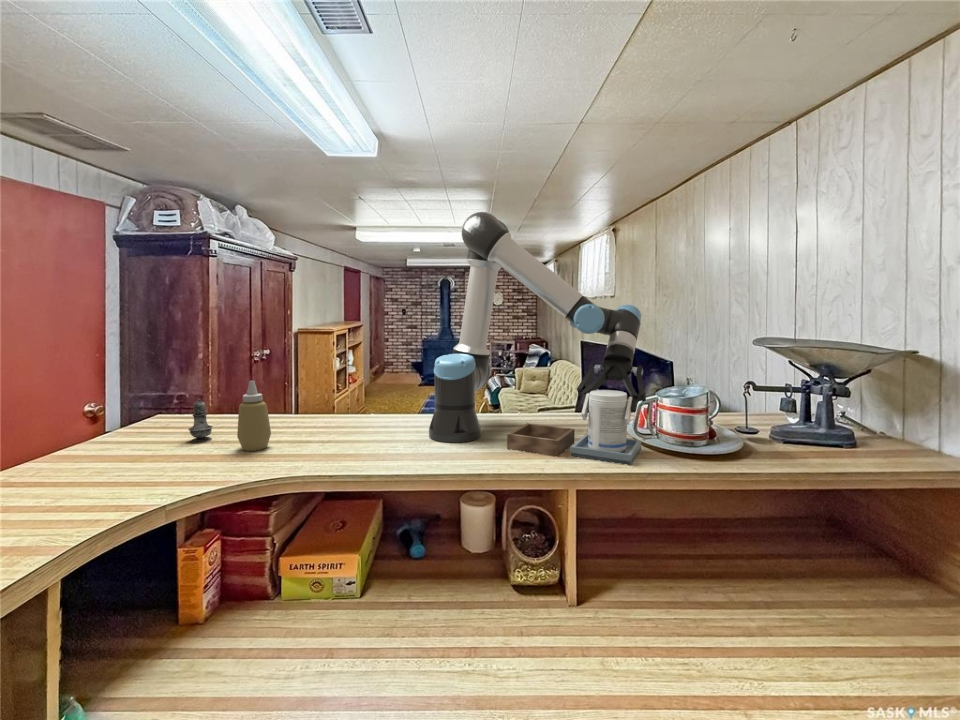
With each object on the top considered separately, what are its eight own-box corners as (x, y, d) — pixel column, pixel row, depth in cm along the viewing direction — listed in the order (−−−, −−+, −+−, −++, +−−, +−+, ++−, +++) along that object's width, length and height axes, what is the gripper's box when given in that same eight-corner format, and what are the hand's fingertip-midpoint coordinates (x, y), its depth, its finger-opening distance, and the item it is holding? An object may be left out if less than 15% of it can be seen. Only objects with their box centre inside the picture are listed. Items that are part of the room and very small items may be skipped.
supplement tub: (633, 449, 122) (635, 393, 120) (613, 457, 115) (616, 397, 114) (600, 441, 129) (602, 388, 127) (579, 448, 122) (581, 392, 121)
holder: (507, 449, 125) (507, 434, 125) (527, 436, 138) (527, 423, 137) (557, 456, 119) (558, 441, 118) (574, 443, 131) (574, 428, 131)
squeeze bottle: (276, 448, 126) (274, 380, 124) (245, 454, 120) (241, 384, 118) (264, 442, 131) (261, 377, 129) (233, 448, 125) (229, 381, 123)
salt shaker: (184, 441, 131) (181, 399, 130) (203, 436, 137) (201, 395, 136) (199, 444, 129) (196, 400, 128) (218, 438, 135) (215, 397, 133)
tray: (570, 456, 119) (570, 446, 119) (586, 442, 132) (586, 433, 132) (630, 465, 112) (630, 455, 112) (640, 449, 125) (641, 440, 125)
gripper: (664, 362, 128) (653, 432, 116) (582, 358, 139) (564, 422, 126) (662, 344, 123) (651, 415, 111) (577, 341, 133) (558, 406, 121)
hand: (604, 419), depth 118 cm, fingers open, 10 cm apart
